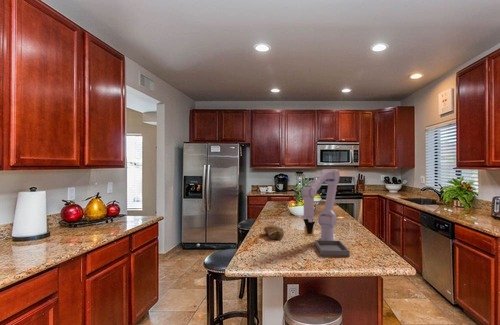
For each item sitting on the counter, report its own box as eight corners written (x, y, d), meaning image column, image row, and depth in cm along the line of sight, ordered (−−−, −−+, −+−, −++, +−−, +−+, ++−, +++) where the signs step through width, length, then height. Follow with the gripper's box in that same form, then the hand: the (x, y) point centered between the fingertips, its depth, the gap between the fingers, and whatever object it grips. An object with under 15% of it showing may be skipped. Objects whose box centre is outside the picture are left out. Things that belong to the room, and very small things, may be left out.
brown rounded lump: (285, 242, 181) (283, 228, 200) (283, 230, 179) (281, 218, 199) (264, 245, 182) (265, 232, 202) (262, 234, 181) (262, 221, 200)
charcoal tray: (315, 245, 168) (315, 240, 168) (339, 245, 167) (339, 240, 167) (321, 256, 148) (321, 250, 148) (349, 256, 147) (349, 250, 147)
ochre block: (304, 234, 166) (304, 226, 166) (312, 234, 166) (312, 226, 166) (305, 236, 161) (305, 227, 161) (313, 236, 161) (313, 228, 161)
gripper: (300, 206, 171) (300, 229, 171) (303, 210, 157) (303, 235, 157) (312, 206, 171) (312, 229, 171) (316, 210, 156) (316, 235, 156)
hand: (308, 232), depth 164 cm, fingers closed on ochre block, 5 cm apart
